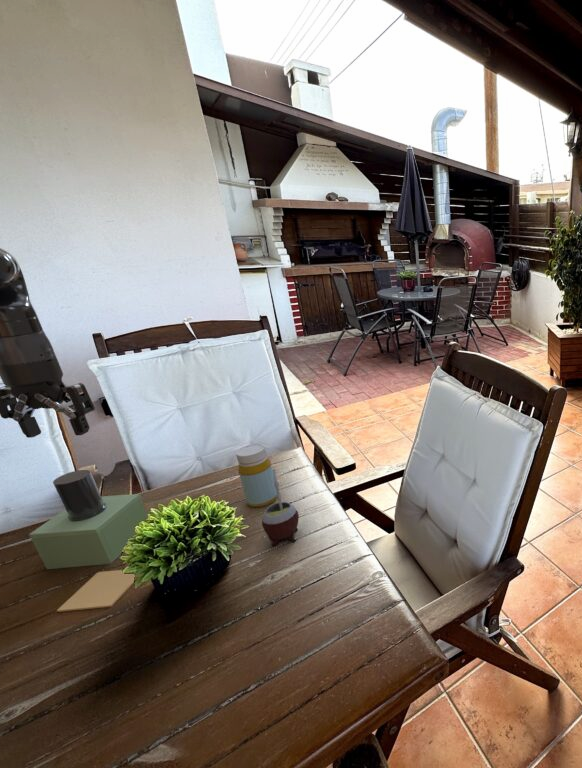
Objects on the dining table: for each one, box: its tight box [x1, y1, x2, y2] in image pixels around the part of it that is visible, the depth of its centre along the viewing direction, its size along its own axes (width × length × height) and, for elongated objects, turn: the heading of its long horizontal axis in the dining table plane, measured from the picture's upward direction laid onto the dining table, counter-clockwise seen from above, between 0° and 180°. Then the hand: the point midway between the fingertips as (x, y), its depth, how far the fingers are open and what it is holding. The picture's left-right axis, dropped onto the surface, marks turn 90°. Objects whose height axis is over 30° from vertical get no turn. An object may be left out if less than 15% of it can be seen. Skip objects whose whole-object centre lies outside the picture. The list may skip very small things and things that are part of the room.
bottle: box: [235, 443, 278, 508], centre depth 101 cm, size 7×7×15 cm
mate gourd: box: [261, 468, 300, 548], centre depth 89 cm, size 8×8×15 cm
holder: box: [52, 469, 107, 522], centre depth 84 cm, size 6×6×9 cm
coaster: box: [56, 569, 135, 613], centre depth 78 cm, size 9×9×1 cm
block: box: [28, 493, 149, 570], centre depth 87 cm, size 12×12×9 cm
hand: (59, 434), depth 80 cm, fingers open, 8 cm apart
